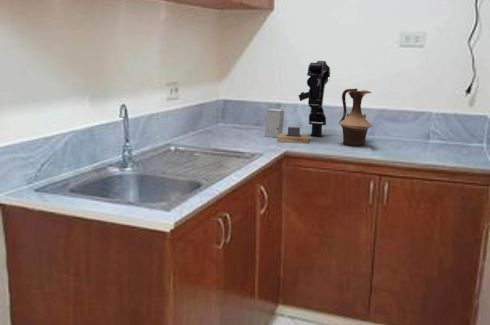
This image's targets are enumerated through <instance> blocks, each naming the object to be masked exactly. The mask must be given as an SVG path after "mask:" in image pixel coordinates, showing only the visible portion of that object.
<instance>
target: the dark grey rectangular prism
mask: <svg viewBox="0 0 490 325" xmlns="http://www.w3.org/2000/svg"><path fill="white" fill-rule="evenodd" d="M287 134H288V136H290V137H300V134H301V127H300V126H288V127H287Z"/></svg>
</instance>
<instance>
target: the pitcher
mask: <svg viewBox="0 0 490 325" xmlns="http://www.w3.org/2000/svg"><path fill="white" fill-rule="evenodd" d="M347 93H348V95H349V96H350V98H351V99H352V108H351V110H350V112H351V113H350V114H349V115H348V116H347V112H348V111H347V102H346V95H347ZM367 94H372V91H370V90H358V88H347V89H345V90H343V92H342V93H341V101H342V107H343V115H342V118H341V119H340V120H339V121H338V123H337V124H338V125H339V126H341V129H342V143H343V145H344V146H345V145H347V146H352V147H364V146H365V145H366V138H367V134H368V130H369V128H372V127H374V126H373V124H372V123H370V122H369V121H368V120H367V118H366V119H365V118H364V116H363V115H362V113H363V111H362V100H363V98H364V96H366V95H367Z"/></svg>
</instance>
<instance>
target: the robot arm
mask: <svg viewBox="0 0 490 325" xmlns="http://www.w3.org/2000/svg"><path fill="white" fill-rule="evenodd" d="M306 76H307V77H308V79H307V80H306V85H307V87H309V89H308V91H306V92H304V91H302V92H300V94H298V95H297V96H298V99H299V101H300V102H302V101H304V100H307V99H308V100H307V102H308V103H307V104H308V106H309V107H310V113H309V115H308V125H311V132H310V137H311V136H312V137H323V126H326V125H327V117H326V114H325V111H324V109H323V104H324V103H323V102H324V95H325V88H326V84H328V83H329V79H328V77H329V78H330V77H331V68H330V65H328V64H327V61H326V60H317V61H316V62H310V63H309V64H308V68H307V74H306Z"/></svg>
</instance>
